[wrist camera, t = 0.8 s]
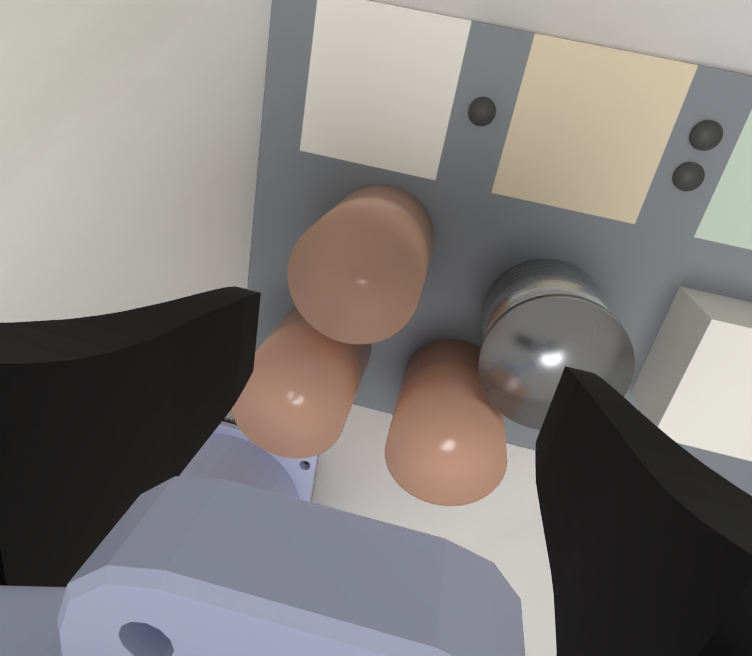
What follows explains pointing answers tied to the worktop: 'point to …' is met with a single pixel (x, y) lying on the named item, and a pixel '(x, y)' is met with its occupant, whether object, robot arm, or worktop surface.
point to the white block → (701, 374)
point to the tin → (547, 338)
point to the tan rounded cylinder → (363, 265)
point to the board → (504, 170)
